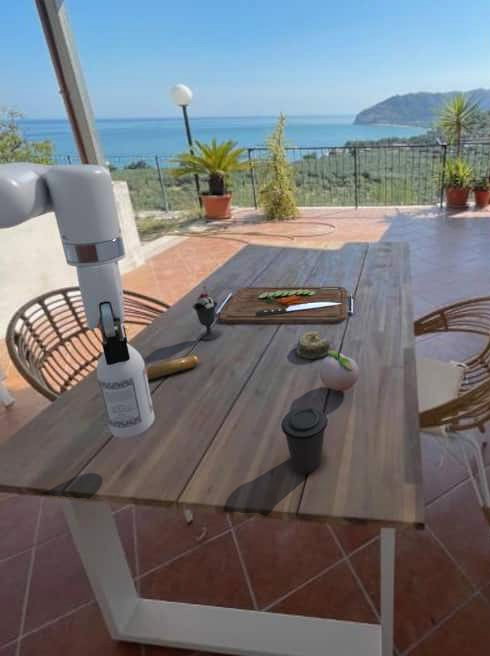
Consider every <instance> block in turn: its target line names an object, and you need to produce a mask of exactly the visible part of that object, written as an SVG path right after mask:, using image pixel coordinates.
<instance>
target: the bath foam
mask: <svg viewBox="0 0 490 656" xmlns="http://www.w3.org/2000/svg"><path fill="white" fill-rule="evenodd" d="M123 325H124V324H123V323H122V324H121V327H122V332H123V337H125V334H124V329H123ZM116 329H117V330H118V328H117V326H115V330H116ZM127 347H128V352H129V357H130V359H129V360H128V361H124V362H118V363H116V364H112V365H107V363H106V359H105V354H104V350H102V352H101V355H100V357H99V359H98V361H97V366H96V379H97V383H98V387H99V390H100V395H101V399H102V403H103V407H104V412H105V415H106V419H107V423H108V424H107V425H108V427H109V431H110V434H111V435H112V436H113V437H116V438H119V439H127V438H128V439H130V438H132V437H136V436H139V435H140V434H142V433H144V432H146V431H147V430H149V428H151V426H152V425H153V424H154V421H155V413H154V406H153V400H152V397H151V396H152V395H151V390H150V385H149V380H148V379H147V374H146V369H145V368H146V363H145V361H144V358H143V357H142V355H141V353H140V352H139V351H138V350H137V349H136V348H135V347H133V346H132V345H131V344H129V343H127Z"/></svg>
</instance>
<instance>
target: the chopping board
mask: <svg viewBox="0 0 490 656" xmlns="http://www.w3.org/2000/svg"><path fill="white" fill-rule="evenodd" d="M321 288H338V289H321ZM341 289H342V290H343V291H342V290H341ZM347 291H348V290H347V288H346V287H343V286H244V287H240V288H238V289H237V291H235V293H234V294H232V293H231V292H230V293H229V294H228V295H227V297H226V298H225V300H224V301H223V302H222V303H221V305H220V307H218V309H217V310H216V311H215V316H218V315H219V314H220V315H219V321H220V323H222V324H339V323H342V322H344V321H345V320H346V318H347V313H350V314H351V315H353V314H354V298H353V299H352V293H353V292H351V294H347V293H348V292H347ZM342 292H343V293H342ZM339 293H340V295H339ZM231 297H232V298H231ZM347 297H350V302H351V303H350V310H347ZM230 298H231V299H230ZM228 301H229V302H228ZM223 308H224V309H223ZM222 309H223V310H222Z"/></svg>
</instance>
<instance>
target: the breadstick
mask: <svg viewBox="0 0 490 656" xmlns="http://www.w3.org/2000/svg"><path fill="white" fill-rule="evenodd" d="M199 361H200V359H199V357H198V356H197V355H189V356H185V357H181V358H177V359H174V360H170V361H166V362H163V363H159V364H155V365H151V366H148V367H145V369H146V374H147V379H148V381H150V380H154V379H157V378H161V377H164V376H168V375H171V374H175V373H178V372H182V371H185V370H189V369H193V368H196V367H197V366H198V365H199V363H200V362H199Z"/></svg>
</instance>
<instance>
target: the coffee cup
mask: <svg viewBox="0 0 490 656" xmlns="http://www.w3.org/2000/svg"><path fill="white" fill-rule="evenodd" d="M283 417H284V418H283V419H282V421H281V424H280V425H281V431H282V432H283V434H284V435H285V439H286V442H287V443H286V444H287V448H288V450H289V451H288V452H289V457H290V461H291V464H292V468H293V469H294V471H296V472H298V473H300V474H311V473H313V472H315V471H317V469H318V468H320V466H321V464H322V456H323V448H324V447H323V446H324V438H325V430H326V428H327V427H328V421H329V420H328V417H327V415H326V414H325V413H324V412H323V410H321V409H320V408H317V407H315V406H309V405H305V406H299V407H296V408H294V409H291V410H290V411H288V413H287V414H286V415H284V416H283Z"/></svg>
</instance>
